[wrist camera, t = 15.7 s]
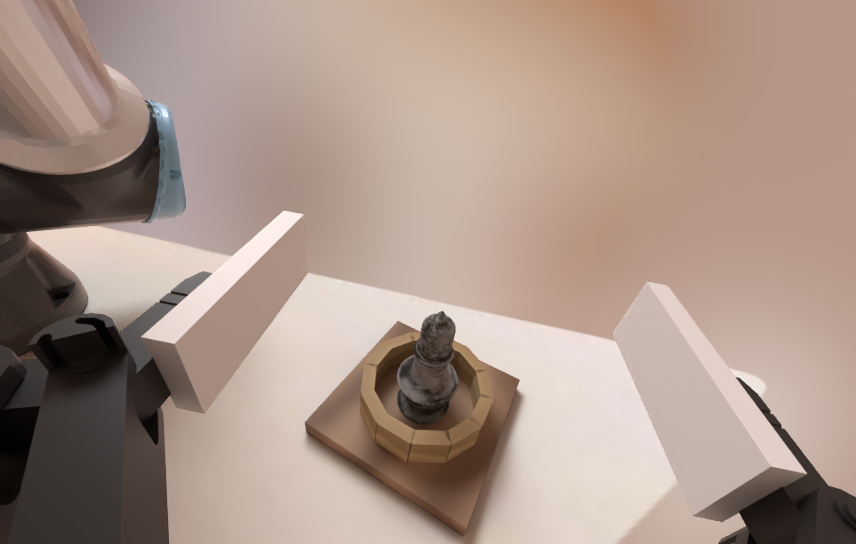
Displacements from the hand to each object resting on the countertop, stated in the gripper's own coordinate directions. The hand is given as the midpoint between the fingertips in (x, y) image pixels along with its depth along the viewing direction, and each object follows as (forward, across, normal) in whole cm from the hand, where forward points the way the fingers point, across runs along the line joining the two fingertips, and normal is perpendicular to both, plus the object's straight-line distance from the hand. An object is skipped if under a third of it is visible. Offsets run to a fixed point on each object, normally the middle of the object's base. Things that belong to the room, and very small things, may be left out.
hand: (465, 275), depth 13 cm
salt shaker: (+9, 0, -23) cm, 25 cm away
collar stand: (+10, 0, -24) cm, 26 cm away
